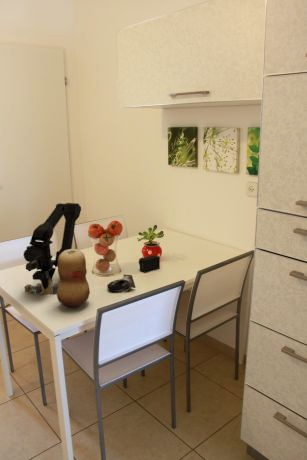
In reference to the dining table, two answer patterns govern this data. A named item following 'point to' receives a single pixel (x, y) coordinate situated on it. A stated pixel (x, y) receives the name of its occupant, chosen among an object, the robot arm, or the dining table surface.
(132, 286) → the caster wheel
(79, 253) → the butternut squash
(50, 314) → the dining table surface
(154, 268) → the digital camera
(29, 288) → the shaft rig
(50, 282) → the coupler
